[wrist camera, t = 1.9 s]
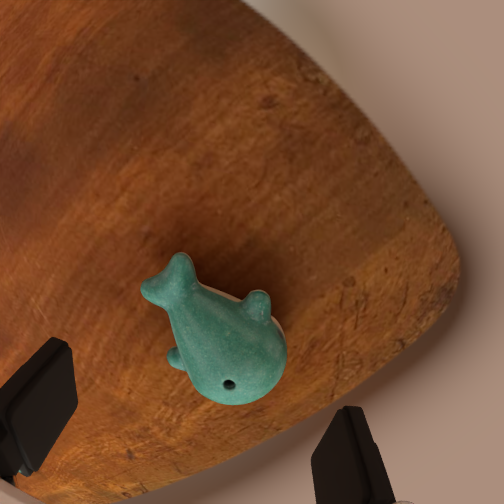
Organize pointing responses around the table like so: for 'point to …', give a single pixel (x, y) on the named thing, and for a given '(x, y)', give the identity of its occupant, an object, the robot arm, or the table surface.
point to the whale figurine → (219, 335)
